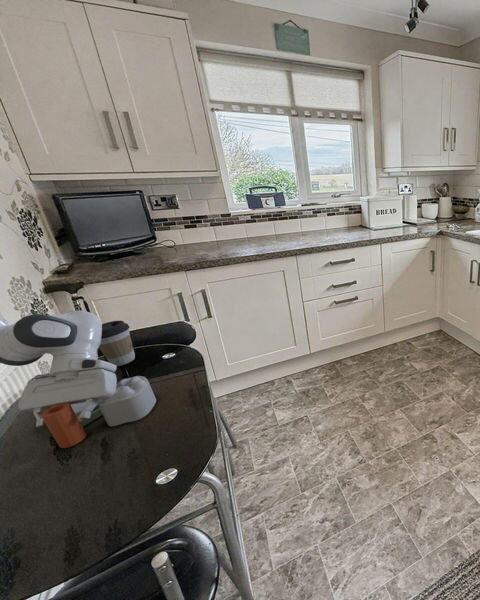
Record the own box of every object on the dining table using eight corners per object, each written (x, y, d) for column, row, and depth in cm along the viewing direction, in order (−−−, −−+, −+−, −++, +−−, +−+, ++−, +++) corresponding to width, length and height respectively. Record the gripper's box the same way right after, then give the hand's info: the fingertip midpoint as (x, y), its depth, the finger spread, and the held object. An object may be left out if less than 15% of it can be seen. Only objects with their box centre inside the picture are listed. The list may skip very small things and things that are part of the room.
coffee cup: (145, 358, 124) (130, 323, 119) (107, 373, 116) (89, 335, 111) (138, 350, 131) (123, 316, 126) (102, 363, 124) (85, 328, 118)
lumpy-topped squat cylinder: (102, 429, 88) (88, 402, 85) (123, 400, 100) (112, 376, 96) (146, 417, 91) (135, 392, 88) (162, 391, 102) (152, 367, 99)
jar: (54, 446, 83) (35, 415, 80) (78, 431, 88) (61, 401, 84) (68, 449, 82) (49, 417, 78) (91, 434, 86) (74, 403, 83)
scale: (44, 423, 92) (40, 415, 91) (92, 396, 103) (88, 389, 102) (77, 430, 88) (73, 422, 87) (123, 401, 99) (119, 394, 98)
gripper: (18, 373, 84) (2, 430, 78) (106, 359, 87) (98, 413, 81) (40, 378, 89) (27, 431, 84) (123, 365, 92) (116, 415, 87)
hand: (63, 422), depth 83 cm, fingers open, 8 cm apart
